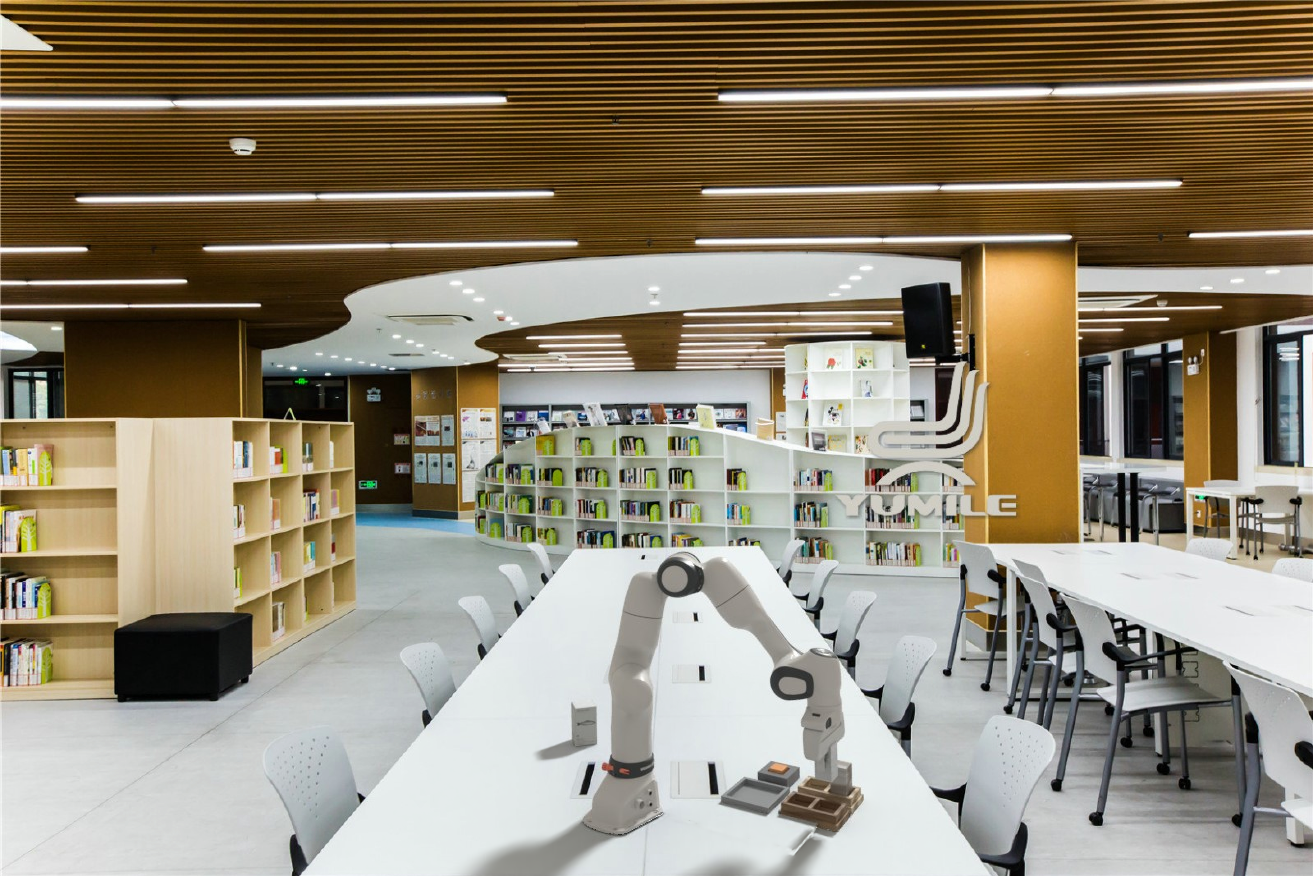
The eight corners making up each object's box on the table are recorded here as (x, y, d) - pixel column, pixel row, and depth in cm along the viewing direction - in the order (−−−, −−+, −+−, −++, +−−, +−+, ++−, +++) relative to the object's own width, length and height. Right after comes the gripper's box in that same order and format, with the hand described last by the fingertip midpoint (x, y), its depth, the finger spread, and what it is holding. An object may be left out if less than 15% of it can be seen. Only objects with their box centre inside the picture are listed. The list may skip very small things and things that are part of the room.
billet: (831, 782, 205) (830, 747, 205) (814, 778, 208) (813, 744, 208) (837, 776, 209) (836, 741, 209) (820, 772, 212) (819, 738, 212)
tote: (768, 817, 210) (768, 808, 210) (721, 805, 218) (720, 796, 218) (790, 796, 222) (789, 787, 222) (744, 785, 230) (744, 776, 230)
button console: (787, 793, 224) (786, 779, 224) (757, 786, 229) (757, 772, 229) (799, 781, 232) (799, 767, 232) (771, 774, 237) (770, 760, 237)
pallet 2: (837, 832, 202) (836, 818, 202) (778, 816, 211) (778, 803, 211) (849, 816, 210) (849, 803, 210) (792, 802, 219) (792, 789, 219)
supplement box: (575, 747, 260) (574, 708, 260) (571, 739, 267) (570, 701, 267) (597, 744, 262) (596, 706, 262) (593, 736, 269) (592, 698, 269)
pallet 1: (851, 814, 211) (851, 774, 211) (795, 800, 220) (794, 761, 220) (863, 799, 219) (862, 761, 219) (808, 786, 228) (807, 749, 228)
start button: (782, 781, 228) (782, 771, 228) (769, 778, 230) (769, 768, 230) (788, 776, 231) (788, 766, 231) (775, 773, 233) (775, 763, 233)
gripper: (827, 698, 219) (828, 749, 219) (797, 722, 202) (799, 777, 202) (850, 702, 215) (851, 753, 216) (821, 727, 198) (823, 783, 198)
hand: (825, 765), depth 209 cm, fingers closed on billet, 4 cm apart
